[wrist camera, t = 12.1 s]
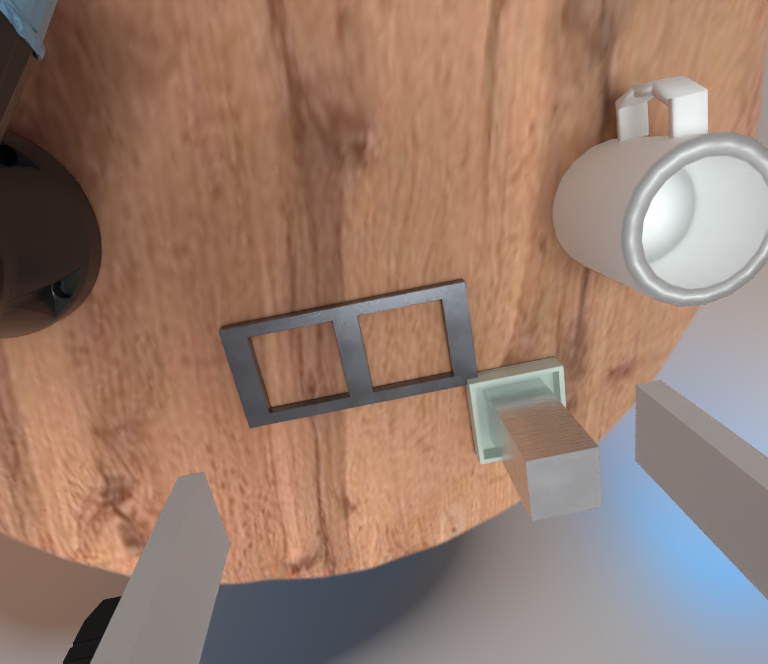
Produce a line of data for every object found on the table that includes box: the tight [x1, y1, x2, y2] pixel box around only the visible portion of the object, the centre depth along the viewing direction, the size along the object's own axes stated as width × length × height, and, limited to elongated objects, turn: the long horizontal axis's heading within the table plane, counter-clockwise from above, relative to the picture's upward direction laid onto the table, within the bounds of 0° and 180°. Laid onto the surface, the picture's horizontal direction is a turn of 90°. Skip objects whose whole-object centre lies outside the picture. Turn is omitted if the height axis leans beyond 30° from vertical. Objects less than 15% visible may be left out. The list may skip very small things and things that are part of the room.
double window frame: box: [219, 279, 478, 428], centre depth 42 cm, size 20×9×1 cm, turn 101°
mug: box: [552, 75, 768, 306], centre depth 34 cm, size 14×10×11 cm
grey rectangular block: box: [484, 378, 602, 521], centre depth 40 cm, size 5×5×11 cm
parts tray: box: [466, 357, 566, 464], centre depth 44 cm, size 8×8×2 cm
